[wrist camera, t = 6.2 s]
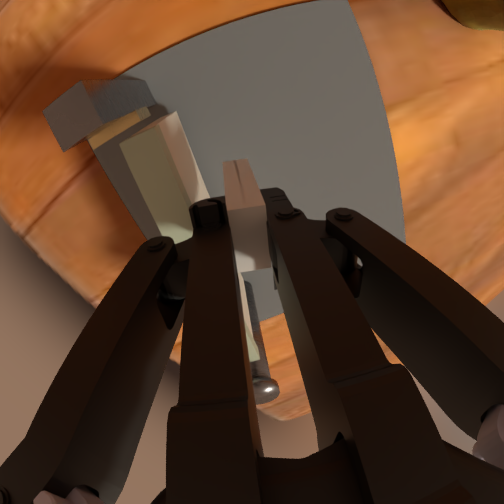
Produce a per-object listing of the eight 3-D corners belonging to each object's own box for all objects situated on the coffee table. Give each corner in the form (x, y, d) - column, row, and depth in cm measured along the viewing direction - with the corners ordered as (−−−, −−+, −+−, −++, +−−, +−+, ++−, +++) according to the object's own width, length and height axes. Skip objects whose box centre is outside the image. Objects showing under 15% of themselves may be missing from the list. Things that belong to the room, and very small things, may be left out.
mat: (72, 108, 16) (70, 108, 16) (344, -3, 14) (345, -4, 14) (217, 334, 30) (217, 336, 30) (405, 257, 28) (406, 259, 28)
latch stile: (117, 97, 17) (35, 117, 8) (151, 77, 16) (89, 73, 7) (132, 126, 18) (63, 170, 9) (166, 107, 18) (119, 131, 9)
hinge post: (221, 281, 27) (230, 392, 17) (249, 270, 26) (271, 380, 17) (233, 301, 28) (247, 407, 18) (260, 291, 28) (284, 397, 18)
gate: (244, 274, 26) (260, 359, 18) (227, 280, 26) (237, 365, 18) (180, 109, 18) (154, 127, 10) (159, 117, 18) (118, 143, 10)
